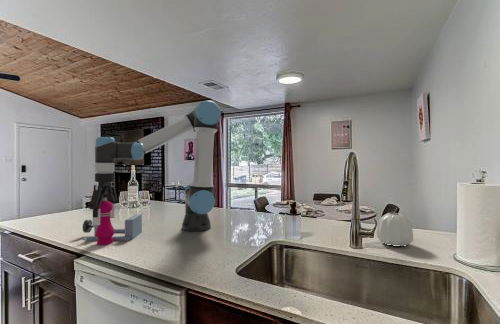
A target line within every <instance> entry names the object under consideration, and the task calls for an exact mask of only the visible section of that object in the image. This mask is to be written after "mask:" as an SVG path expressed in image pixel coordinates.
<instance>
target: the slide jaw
mask: <svg viewBox="0 0 500 324" xmlns="http://www.w3.org/2000/svg"><path fill="white" fill-rule="evenodd" d="M93 228H94V232H93V233H94V236H93V237H96V230H97V228H98V225H93V220H92V219H85V220H84V221H83V224H82V231H83V233H86V234H88V233H90V232H91V231H92V229H93Z"/></svg>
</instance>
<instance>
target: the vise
mask: <svg viewBox="0 0 500 324" xmlns="http://www.w3.org/2000/svg"><path fill="white" fill-rule="evenodd" d="M142 215H143V214H139V213H137V214H133V215H132V216H130V217H128V218H125V220H124V228H114V232H123V233H124V235H120V236H119V235H117V236H116V235H113V236H112V238H113V240H120V241H130V240H134V239H135V238H136V237H138V236H139V235H140V234H142V232H143V216H142ZM97 240H98V238H97V237H95V236H86V238H85V241H86V242H87V241H88V242H97Z"/></svg>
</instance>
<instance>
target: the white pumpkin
mask: <svg viewBox="0 0 500 324" xmlns="http://www.w3.org/2000/svg"><path fill="white" fill-rule="evenodd" d="M412 226H413V225H412V224H411V221H410V220H409V218H407V217H406V216H405V215H403V214H402V213H399V212H398V213H397V212H387V213H386V214H384V215H382V216H381V217H379V219H378V221H377V227H376V237H377V238H378V240H379V241H380V242H381V243H382V242H384V243H386V244H391V245H400V246H404V245H408V244H409V245H410V244H411V243H412V242H413V241H414V231H413V227H412ZM384 243H383V244H384ZM386 244H385V245H386ZM409 245H408V246H409ZM404 247H405V246H404Z"/></svg>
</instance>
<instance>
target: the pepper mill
mask: <svg viewBox="0 0 500 324" xmlns="http://www.w3.org/2000/svg"><path fill="white" fill-rule="evenodd" d="M112 208H113V205H112V203H111V202H109V201H108V199H107V196H106V197H105V196H104V197H103V199H102V202H101V205H100V207H99V209H100V225H98V228H97V230H96V237H97V238H98V240H97V241H96V244H97V245H98V246H107V244H108V245H111V244H112V243H114V241H113V238H112V236H115V233H114V229H115V228H114V227H113V224H112V222H111V218H110V215H111V212H110V211H111V210H112Z"/></svg>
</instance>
